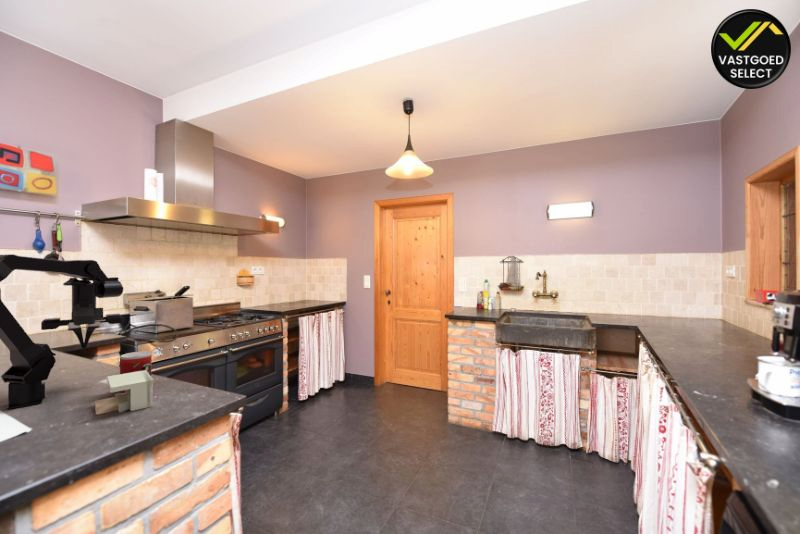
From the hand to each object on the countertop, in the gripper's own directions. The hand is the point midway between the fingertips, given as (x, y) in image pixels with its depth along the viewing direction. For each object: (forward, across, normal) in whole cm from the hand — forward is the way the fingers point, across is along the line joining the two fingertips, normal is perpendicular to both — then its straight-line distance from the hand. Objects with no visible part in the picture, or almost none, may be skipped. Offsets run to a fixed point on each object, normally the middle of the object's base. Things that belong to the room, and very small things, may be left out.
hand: (84, 348), depth 109 cm
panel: (+12, +7, -28) cm, 32 cm away
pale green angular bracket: (+12, +9, -28) cm, 32 cm away
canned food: (+12, +12, -16) cm, 23 cm away
